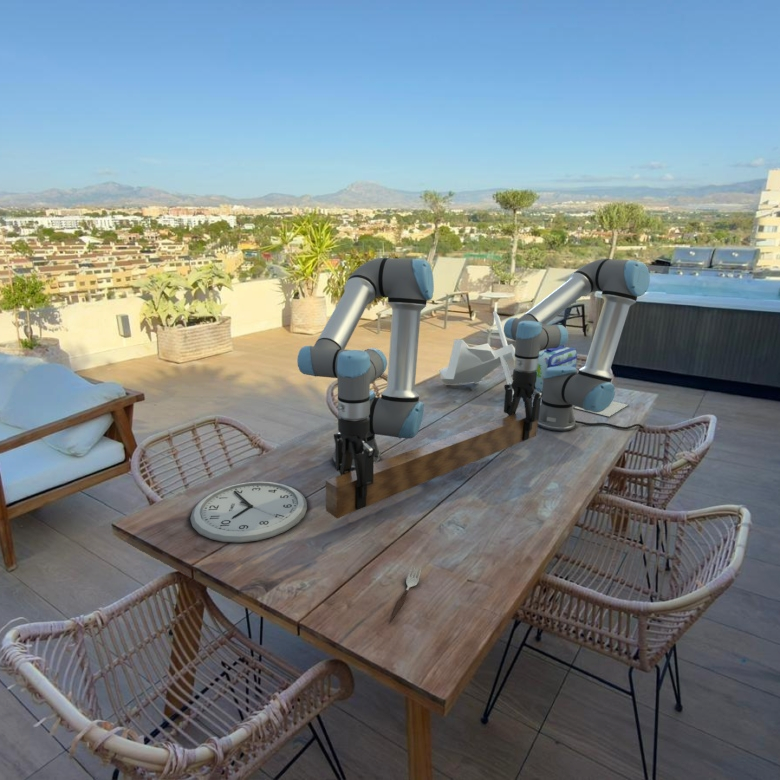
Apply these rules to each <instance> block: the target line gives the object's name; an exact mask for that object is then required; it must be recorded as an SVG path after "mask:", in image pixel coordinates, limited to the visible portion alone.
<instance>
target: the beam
mask: <svg viewBox="0 0 780 780" xmlns="http://www.w3.org/2000/svg"><path fill="white" fill-rule="evenodd" d="M524 421H526V413H525V409H524V410H522V411H521V410H520V411H518V412H516V413H515V414H513V415H510V416H508V415H507V416H504V417H501V418H499V419H496V420H494V421H491V422H488V423H485V424H482V425H479V426H477V427H473V428H470V429H467V430H465V431H462V432H460V433H456V434H454V435H451V436H448V437H445V438H442V439H439V440H437V441H433V442H430V443H429V444H425V445H423V446H420V447H417V448H414V449H411V450H408V451H405V452H403V453H400V454H397V455H394V456H391V457H388V458H385V459H382V460H380V462H377V463H374V464H373V484H371V485H368V486H367V496H366V506H365V507H363V508H360V509H358V510H357V509H355V485H356V484H358V482H357V476H356V470H352V471H351V472H348V473H346V474H343V475H340V474H339V475H337V476H335V477H334V476H333V477H331V478H329V479H326V480H325V511H326V512H327V513H328V514H329V515H332V517H334V518H336V519H339V518H343V517H344V516H347V515H349V514H351V513H354V512H356V511H359V510H361V509H364V508H366V507H369V506H371V505H373V504H376V503H378V502H381V501H383V500H386V499H388V498H390V497H393V496H395V495H398V494H401V493H403V492H405V491H407V490H410V489H412V488H415V487H417V486H419V485H422V484H424V483H427V482H429V481H431V480H434V479H436V478H439V477H441V476H444V475H446V474H449V473H450V472H453V471H455V470H458V469H460V468H462V467H464V466H465V467H466V466H468V465H470V464H473V463H475V462H477V461H480V460H482V459H485V458H486V457H490V456H491V455H494V454H496V453H499V452H501V451H503V450H506V449H508V448H511V447H514V446H515V445H518V444H520V443H523V442H525V441H527V440H530V439H533V438H535V437H537V435H538V433H537V432H538V420H537V421H535V422H533V423H532V430H531V431H530V433H529V439H527V440H522V437H523V427H524Z"/></svg>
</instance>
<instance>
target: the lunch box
mask: <svg viewBox="0 0 780 780" xmlns="http://www.w3.org/2000/svg"><path fill="white" fill-rule="evenodd" d="M577 359H578V351H577V348H575V347H567V346H562V347H558V348H552V349H545V350H540V351H539V359H538V369H537V370H536V372H537V378H536V383H535V387H536V390H537V391H538V392H542V391H543V380H544V379H543V378H544V375H545V370H546V369H547V368H549V367H555V366H570V367H575V368H577Z"/></svg>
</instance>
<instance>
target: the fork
mask: <svg viewBox="0 0 780 780" xmlns="http://www.w3.org/2000/svg"><path fill="white" fill-rule="evenodd" d="M412 568H413V565H410V569H409V572H408V574H407V577H406V579H405V584H406V589H405V590H404V591H403V593H402V594H401V596H400V597H399V599H398V601H397V604H396V607H395V609H394V612H393V614H392V617H391V620H394V619H395V617H396V615H397V614H398V613H399V611H400V609H401V608H402V607H403V605H404V603H405V601H406V598H407V596H408V592H409V590H410V588H413V587H415V586H417V585H418V583H419V579H420V575H421V572H422V568H420V569H419V567H416V566H414V568H413V569H412ZM415 569H416V571H415ZM418 570H419V572H418Z"/></svg>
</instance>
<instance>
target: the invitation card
mask: <svg viewBox="0 0 780 780" xmlns="http://www.w3.org/2000/svg"><path fill="white" fill-rule="evenodd" d="M628 406H629V404H627V403H623V402H618V401H614V400H612V402H611V404H610V405H609V406H608V407H607V408H606V409H605V410H603V411H601V412H592V411H586V410H584V409H582V408H580V407H577V406H574V407H573V409H575V410H581V411H584V412H587V413H593V414H596V415H600V416H604V417H608V418H609V417H611V416H613V415H614V414H616V413H617V412H619V411H621V410H623V409H624V408H626V407H628Z"/></svg>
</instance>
